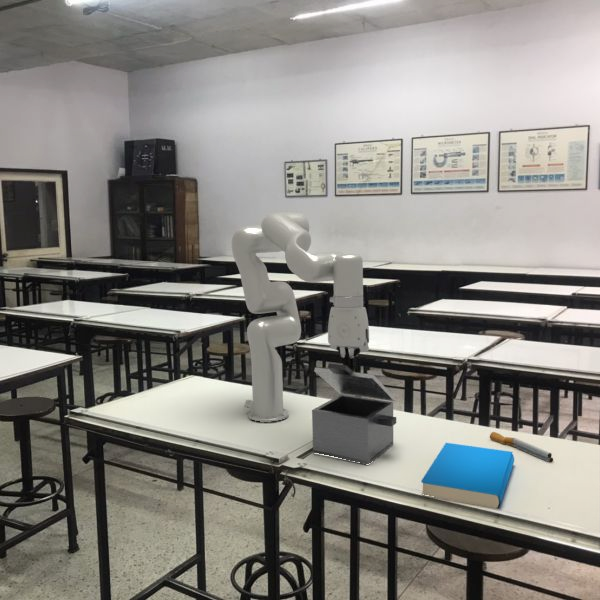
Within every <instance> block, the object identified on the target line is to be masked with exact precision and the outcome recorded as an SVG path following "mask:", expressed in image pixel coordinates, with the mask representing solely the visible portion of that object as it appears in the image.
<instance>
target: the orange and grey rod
mask: <svg viewBox="0 0 600 600" xmlns="http://www.w3.org/2000/svg"><path fill="white" fill-rule="evenodd" d="M489 439H490V440H491V441H492V442H495V443H499V444H502V445H509V446H510V447H513V448H515V449H518V450H520V451H522V452H525V453H527V454H529V453H530V455H532V456H535V457H536V456H537V457H536V458H539V459H542V460H544V461H545V460H546V462H547V463H552V461H553V462H554V458H553V456H552V452H549V451H547V450H544V449H542V448H540V447H538V446H535V445H532V444H530V443H528V442H525V441H523V440H520V439H519V438H516V437H507V436H503V435H502V434H500V433H498V432H495V431H492V432H490V434H489Z"/></svg>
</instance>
